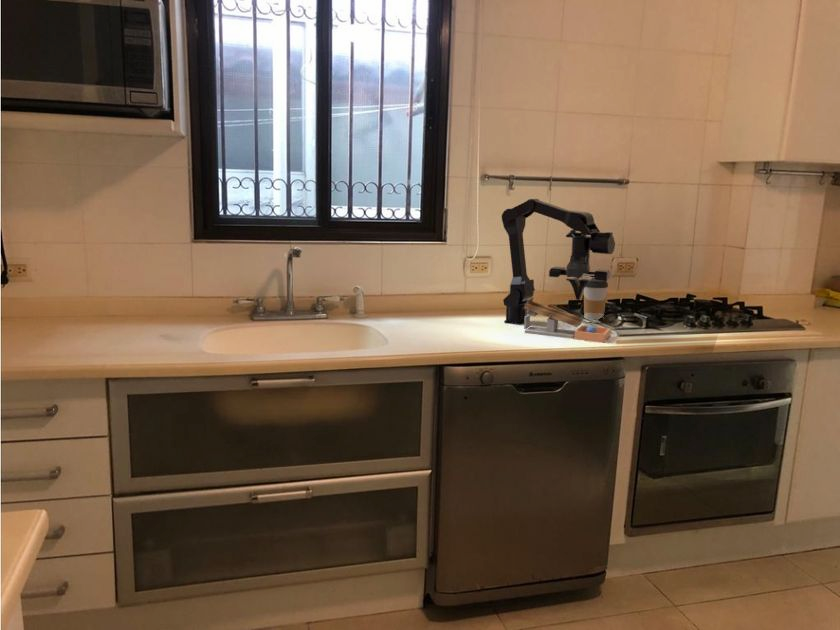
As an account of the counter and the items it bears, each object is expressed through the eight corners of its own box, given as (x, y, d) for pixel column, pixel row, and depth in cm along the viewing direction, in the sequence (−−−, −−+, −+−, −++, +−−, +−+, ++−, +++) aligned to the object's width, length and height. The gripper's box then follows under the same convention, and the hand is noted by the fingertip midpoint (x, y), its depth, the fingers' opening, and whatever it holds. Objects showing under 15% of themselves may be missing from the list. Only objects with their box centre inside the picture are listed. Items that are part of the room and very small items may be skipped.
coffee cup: (606, 324, 227) (609, 282, 224) (581, 323, 229) (584, 281, 225) (604, 319, 235) (607, 278, 232) (581, 318, 237) (583, 277, 233)
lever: (523, 313, 215) (527, 299, 214) (532, 307, 224) (536, 294, 222) (575, 331, 208) (579, 317, 207) (583, 325, 217) (587, 312, 215)
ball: (583, 329, 208) (592, 325, 206) (585, 327, 211) (595, 323, 209) (587, 338, 208) (596, 335, 206) (589, 336, 210) (599, 333, 209)
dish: (574, 339, 207) (574, 331, 206) (581, 333, 215) (582, 325, 214) (604, 342, 202) (604, 334, 202) (610, 336, 210) (610, 328, 210)
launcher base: (522, 332, 215) (522, 317, 214) (529, 327, 222) (530, 313, 221) (573, 338, 207) (573, 323, 206) (579, 333, 214) (580, 318, 213)
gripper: (544, 252, 208) (542, 301, 211) (604, 256, 200) (601, 306, 203) (554, 249, 218) (552, 295, 221) (612, 252, 209) (609, 300, 213)
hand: (578, 299), depth 214 cm, fingers closed
